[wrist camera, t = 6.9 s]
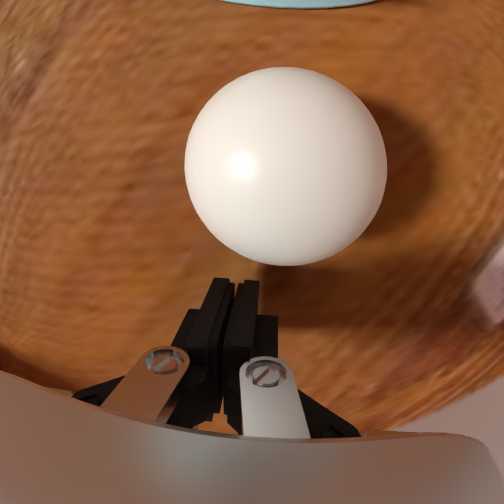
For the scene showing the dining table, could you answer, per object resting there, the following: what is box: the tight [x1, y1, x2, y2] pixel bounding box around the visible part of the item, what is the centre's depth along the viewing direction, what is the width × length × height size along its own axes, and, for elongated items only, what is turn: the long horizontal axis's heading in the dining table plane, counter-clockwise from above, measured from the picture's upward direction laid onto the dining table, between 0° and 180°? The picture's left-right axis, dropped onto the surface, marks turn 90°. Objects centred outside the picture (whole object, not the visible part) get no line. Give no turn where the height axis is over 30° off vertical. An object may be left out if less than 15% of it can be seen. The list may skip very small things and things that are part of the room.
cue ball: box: [185, 67, 387, 266], centre depth 8 cm, size 6×6×6 cm
